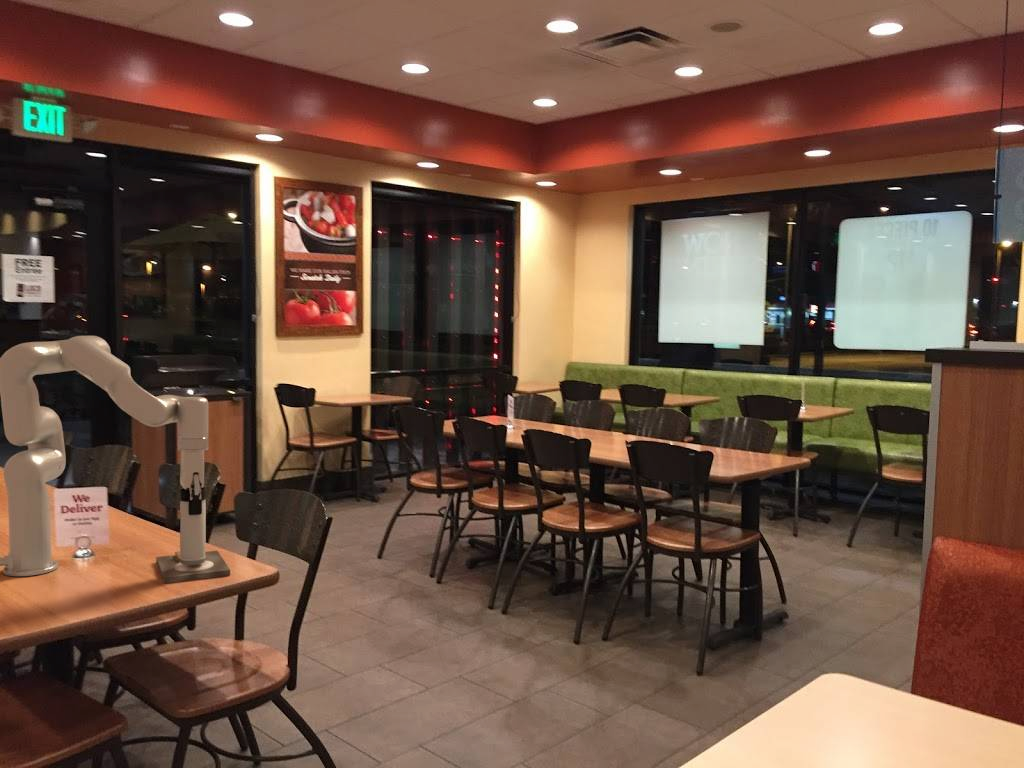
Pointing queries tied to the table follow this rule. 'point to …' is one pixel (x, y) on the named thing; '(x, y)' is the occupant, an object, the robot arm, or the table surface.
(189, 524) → the travel mug
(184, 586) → the table surface
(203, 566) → the grey sink model
